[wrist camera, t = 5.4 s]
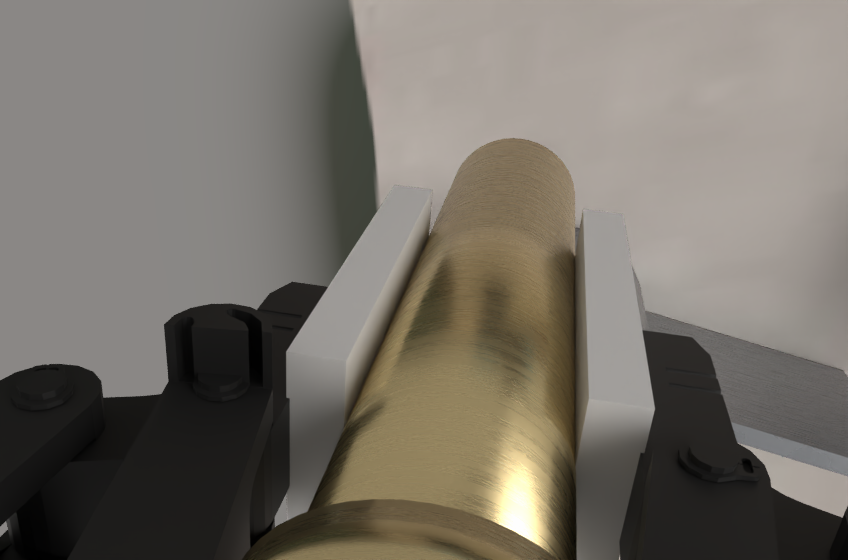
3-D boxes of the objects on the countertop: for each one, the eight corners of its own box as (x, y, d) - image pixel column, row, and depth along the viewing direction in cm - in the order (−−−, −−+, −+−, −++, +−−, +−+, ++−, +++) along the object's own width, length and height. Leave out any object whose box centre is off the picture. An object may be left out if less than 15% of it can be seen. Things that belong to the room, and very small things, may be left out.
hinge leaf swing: (636, 324, 39) (652, 416, 31) (642, 310, 38) (660, 400, 31) (835, 384, 38) (898, 491, 31) (843, 370, 38) (908, 476, 31)
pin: (442, 112, 19) (174, 529, 6) (604, 131, 18) (672, 623, 6) (430, 258, 20) (198, 820, 8) (578, 278, 20) (586, 911, 7)
